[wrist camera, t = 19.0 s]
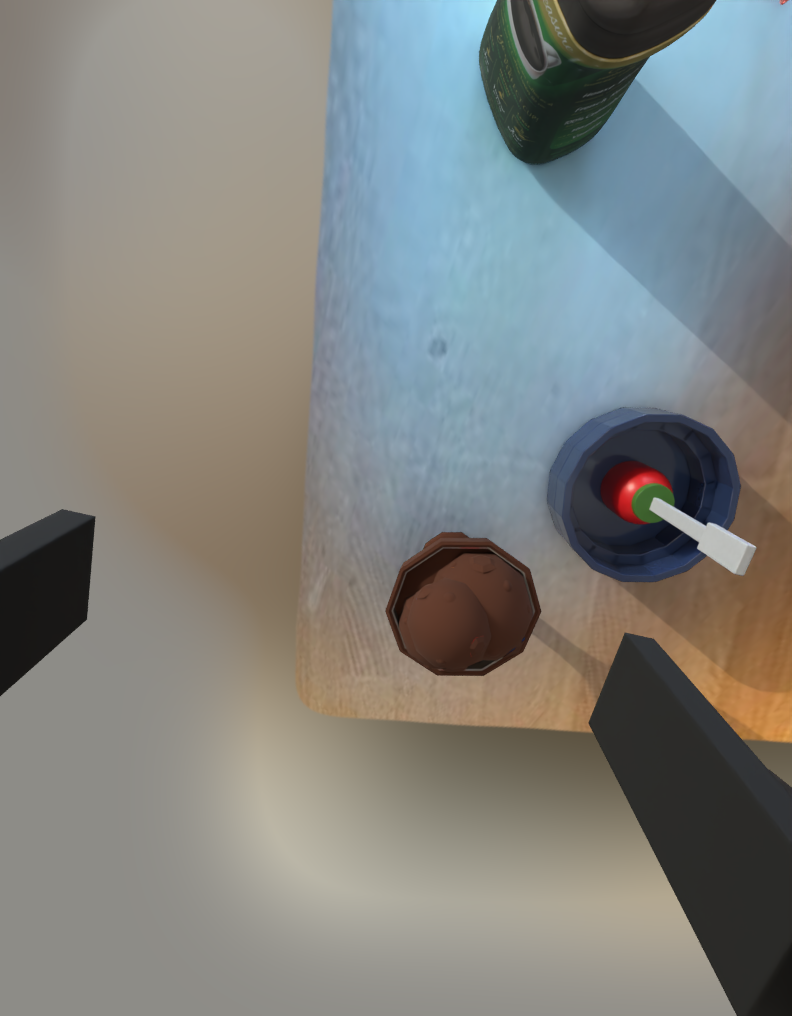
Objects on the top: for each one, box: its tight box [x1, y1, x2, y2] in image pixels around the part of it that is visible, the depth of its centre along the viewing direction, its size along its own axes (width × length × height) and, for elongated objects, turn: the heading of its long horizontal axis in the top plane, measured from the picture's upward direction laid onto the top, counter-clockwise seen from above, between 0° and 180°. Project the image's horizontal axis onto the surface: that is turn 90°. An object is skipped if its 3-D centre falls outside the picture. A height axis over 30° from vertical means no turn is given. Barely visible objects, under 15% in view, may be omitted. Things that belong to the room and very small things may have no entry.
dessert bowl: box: [547, 407, 741, 582], centre depth 43 cm, size 13×13×5 cm
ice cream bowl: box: [386, 532, 541, 676], centre depth 41 cm, size 11×11×15 cm
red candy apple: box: [601, 461, 756, 576], centre depth 38 cm, size 5×5×16 cm
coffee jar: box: [479, 0, 716, 164], centre depth 29 cm, size 10×8×19 cm
